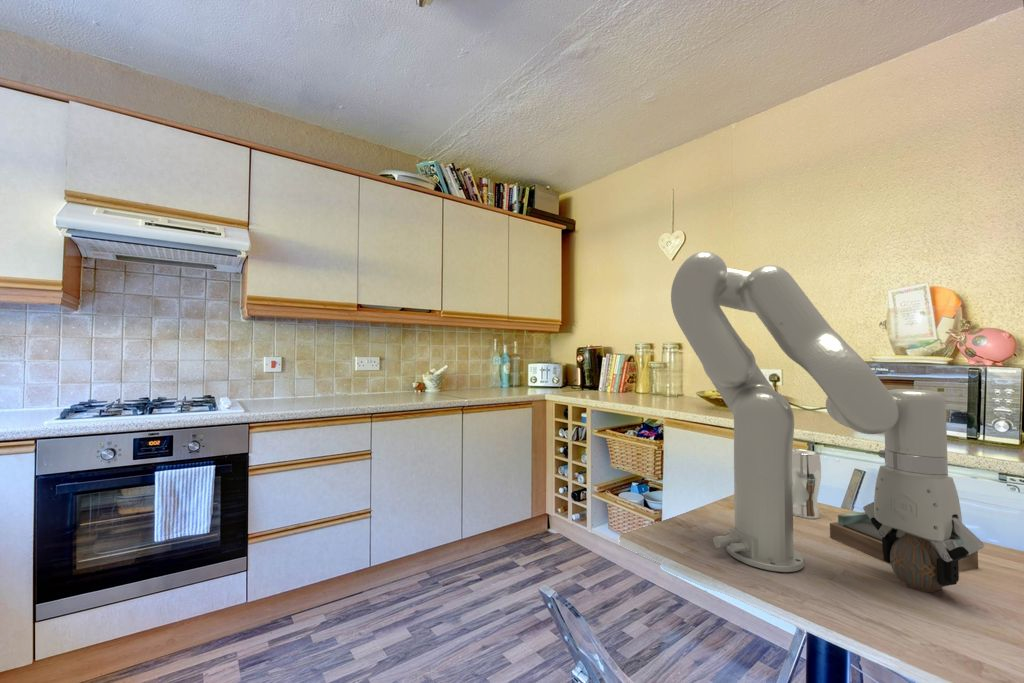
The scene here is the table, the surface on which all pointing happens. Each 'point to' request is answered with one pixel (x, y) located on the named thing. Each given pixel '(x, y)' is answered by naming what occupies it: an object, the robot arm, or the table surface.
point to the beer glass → (806, 482)
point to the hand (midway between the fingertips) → (918, 571)
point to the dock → (876, 537)
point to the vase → (915, 562)
